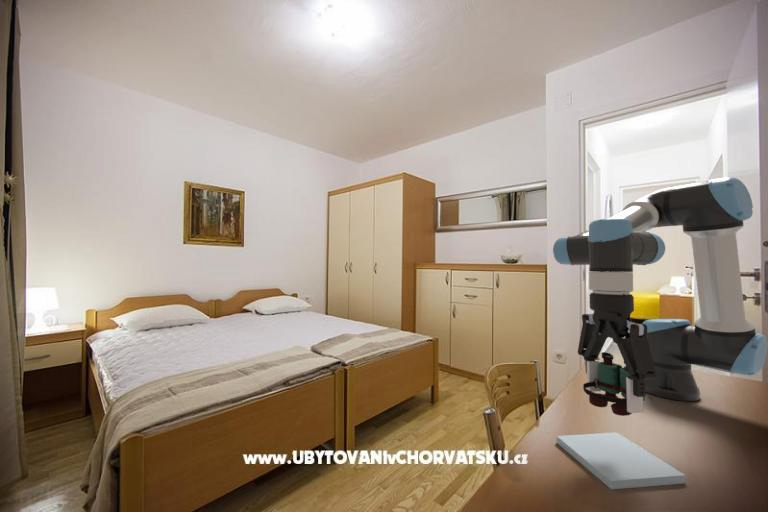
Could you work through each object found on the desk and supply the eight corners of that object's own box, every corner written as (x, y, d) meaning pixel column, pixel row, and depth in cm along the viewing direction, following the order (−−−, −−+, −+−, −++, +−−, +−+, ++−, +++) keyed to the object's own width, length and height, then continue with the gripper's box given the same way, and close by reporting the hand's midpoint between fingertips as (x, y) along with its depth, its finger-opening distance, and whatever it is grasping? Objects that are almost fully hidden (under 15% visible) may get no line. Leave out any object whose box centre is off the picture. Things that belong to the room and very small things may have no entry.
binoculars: (574, 358, 67) (603, 348, 71) (578, 407, 67) (607, 395, 71) (619, 370, 59) (650, 359, 63) (624, 426, 59) (654, 411, 63)
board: (616, 438, 73) (616, 432, 73) (685, 483, 58) (685, 475, 58) (556, 442, 71) (556, 436, 71) (611, 489, 56) (611, 480, 56)
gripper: (682, 297, 55) (685, 426, 54) (587, 288, 77) (589, 380, 76) (643, 297, 54) (646, 429, 54) (559, 288, 76) (560, 381, 76)
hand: (612, 400), depth 65 cm, fingers closed on binoculars, 9 cm apart
